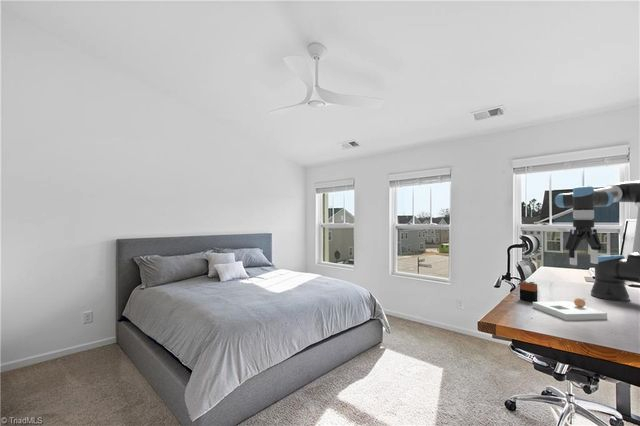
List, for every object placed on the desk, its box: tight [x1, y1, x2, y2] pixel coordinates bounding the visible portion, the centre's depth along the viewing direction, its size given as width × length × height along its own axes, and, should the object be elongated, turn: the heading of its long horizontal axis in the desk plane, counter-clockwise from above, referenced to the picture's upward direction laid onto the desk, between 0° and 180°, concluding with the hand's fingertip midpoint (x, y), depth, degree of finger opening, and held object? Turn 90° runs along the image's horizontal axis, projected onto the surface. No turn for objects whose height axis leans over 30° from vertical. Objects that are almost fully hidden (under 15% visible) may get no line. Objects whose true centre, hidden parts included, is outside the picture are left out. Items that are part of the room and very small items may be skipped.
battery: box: [519, 280, 538, 303], centre depth 156 cm, size 4×7×10 cm, turn 35°
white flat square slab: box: [532, 300, 608, 321], centre depth 136 cm, size 19×18×2 cm
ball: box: [573, 297, 586, 307], centre depth 136 cm, size 4×4×4 cm
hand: (584, 264), depth 140 cm, fingers open, 13 cm apart
